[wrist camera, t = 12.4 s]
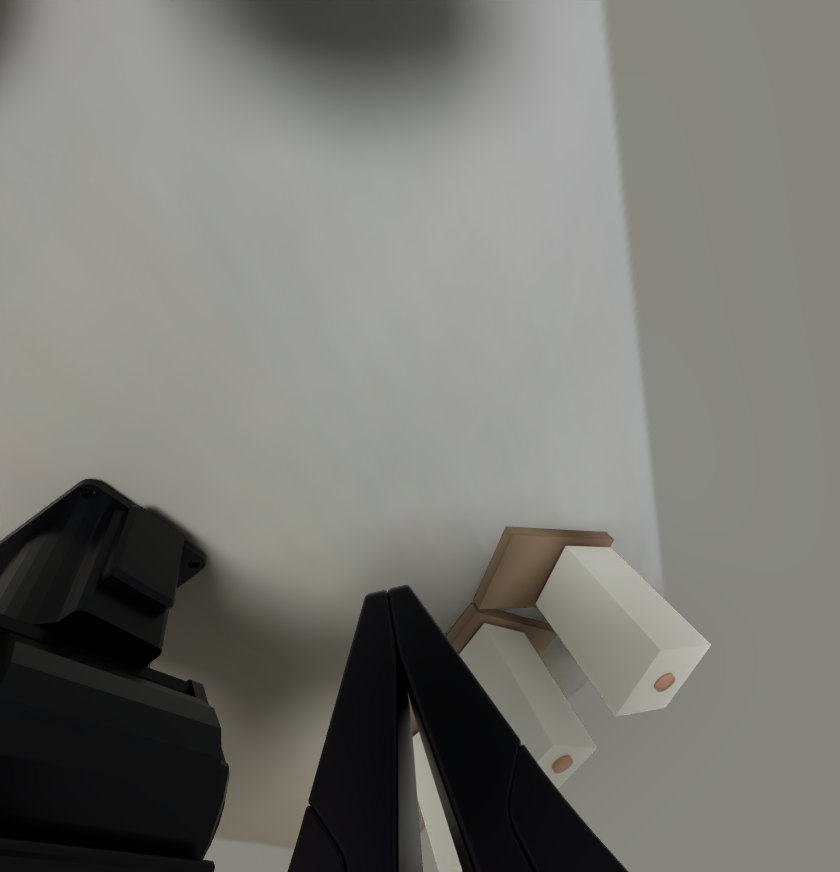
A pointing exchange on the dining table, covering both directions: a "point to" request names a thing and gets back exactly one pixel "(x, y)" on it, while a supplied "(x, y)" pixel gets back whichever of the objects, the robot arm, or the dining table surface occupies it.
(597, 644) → the white pillar with knob
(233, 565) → the dining table surface
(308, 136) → the dining table surface
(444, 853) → the three-dot tile
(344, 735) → the robot arm
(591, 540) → the tile tracks
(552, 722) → the two-bump white pillar
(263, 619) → the dining table surface
